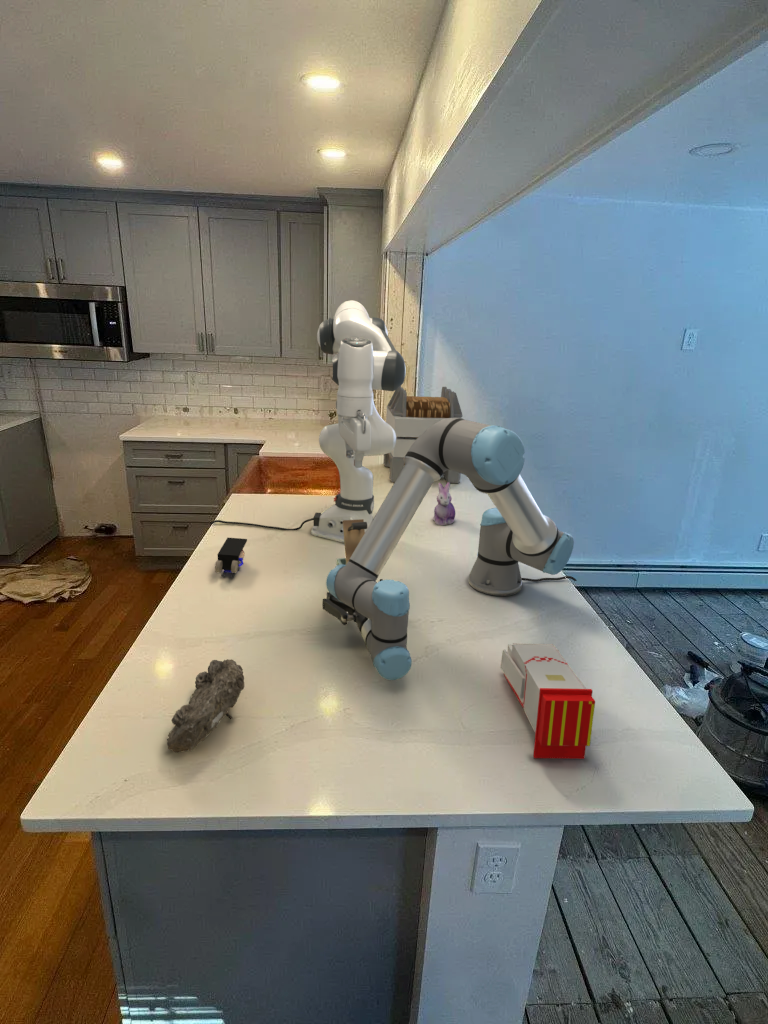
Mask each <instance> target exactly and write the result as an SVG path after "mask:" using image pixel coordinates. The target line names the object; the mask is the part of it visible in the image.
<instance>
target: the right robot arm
mask: <svg viewBox="0 0 768 1024" xmlns="http://www.w3.org/2000/svg"><path fill="white" fill-rule="evenodd" d="M461 418H462V417H461ZM461 418H447V419H444V420H441V421H439V422H437V423H435V424H434V425H432V426H430V427H429V428H428V429H427V430H426V431H424V432H423V433H422V434H421V435H420V436H419V437H418V438H417V439H416V441H415V442H414V443H413V444H412V446H411V447H410V449H409V450H408V452H407V454H406V455H405V457H404V463H405V465H404V467H403V469H402V471H401V473H400V474H399V476H398V478H397V479H396V481H395V482H393V485H392V486H391V488H390V490H389V491H388V493H387V495H386V496H385V498H384V500H383V501H382V503H381V505H380V507H379V508H378V510H377V511H376V513H375V515H374V516H373V520H372V522H371V523H370V525H369V527H368V529H367V530H366V532H365V534H364V535H363V537H362V539H361V540H360V542H359V544H358V546H357V547H356V549H355V551H354V552H353V554H352V556H351V557H350V559H349V561H348V563H347V564H346V565H343V564H341V565H337V566H336V565H335V566H334V568H332V569H331V570H330V571H329V572H328V574H327V576H326V580H325V586H326V590H327V593H326V598H322V600H321V601H322V607H321V608H322V610H323V611H325V612H327V613H328V614H330V615H332V617H333V618H336V619H337V620H338V621H339V622H340V623H341V625H342V626H347V625H348V622H354V623H355V624H356V626H357V629H358V631H359V633H360V635H361V637H362V641H363V643H364V644H365V646H366V650H367V651H368V654H369V656H370V658H371V661H372V664H373V667H374V668H375V669H376V672H377V674H378V675H379V676H380V677H381V678H382V679H385V680H387V681H396V680H400V679H402V678H404V677H405V676H407V675H408V673H409V672H410V670H411V668H412V664H413V661H412V660H413V659H412V656H411V653H410V651H409V649H408V646H407V644H408V626H409V614H410V612H409V611H410V606H411V605H410V604H411V603H410V590H409V588H408V585H407V584H405V583H404V582H402V581H400V580H394V579H383V578H380V579H379V580H378V581H377V579H378V578H379V576H380V574H381V572H382V571H383V569H384V568H385V566H386V564H387V562H388V560H389V558H390V557H391V555H392V553H393V551H394V550H395V548H396V547H397V545H398V543H399V542H400V539H401V538H402V536H403V534H404V533H405V531H406V529H407V528H408V526H409V524H410V523H411V521H412V519H413V517H415V516H414V515H415V514H416V513H417V510H418V509H419V507H420V505H421V504H422V502H423V500H424V499H425V497H426V495H427V493H428V491H429V490H430V488H431V486H432V484H434V482H436V481H439V480H441V478H442V476H443V475H444V474H443V473H444V472H445V471H446V470H448V469H449V470H452V471H455V472H459V473H461V474H462V475H464V476H466V478H468V480H469V481H470V483H471V484H472V486H473V487H474V489H476V491H478V492H480V493H483V494H486V495H487V496H488V497H489V499H490V500H491V502H492V503H493V505H494V506H495V507H491V508H488V509H486V510H485V511H484V512H483V513H482V515H481V520H480V521H481V522H480V524H479V526H480V527H479V537H478V547H477V549H478V550H477V558H476V559H475V561H474V564H473V566H472V568H471V570H470V572H469V575H468V584H469V586H470V587H471V588H473V589H474V590H475V591H477V592H480V593H482V594H486V595H489V596H490V595H491V596H496V597H508V596H513V595H516V594H518V593H519V592H520V591H522V585H523V581H526V582H532V583H538V582H543V581H561V580H566V578H567V579H569V580H572V581H574V582H577V579H576V578H575V577H574V576H572V575H566V576H560V577H541V578H528V577H522V575H521V574H522V573H521V570H520V569H521V568H520V565H519V563H520V564H523V565H526V566H528V567H531V568H533V569H535V570H537V571H540V572H542V573H543V574H548V575H551V576H555V575H558V574H559V573H561V572H562V571H563V570H564V569H565V567H566V566H567V564H568V563H569V561H570V558H571V556H572V553H573V551H574V550H573V549H574V544H575V540H574V537H573V535H571V534H569V533H568V532H567V531H561V530H560V529H559V528H558V526H557V525H556V523H555V521H553V519H552V518H551V517H549V516H547V515H545V514H543V512H542V511H541V509H540V507H539V506H538V504H537V502H536V500H535V498H534V497H533V495H532V493H531V491H530V490H529V488H528V486H527V484H526V483H525V481H524V479H523V478H522V476H521V473H522V471H523V469H524V465H525V460H526V457H525V456H524V455H525V453H526V451H525V445H524V442H523V441H522V439H521V437H520V436H519V435H518V434H517V433H516V432H515V431H514V430H511V429H508V428H506V427H503V426H500V425H491V424H487V423H483V422H477V421H472V420H468V419H464V418H462V419H461ZM565 577H566V578H565Z"/></svg>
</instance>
